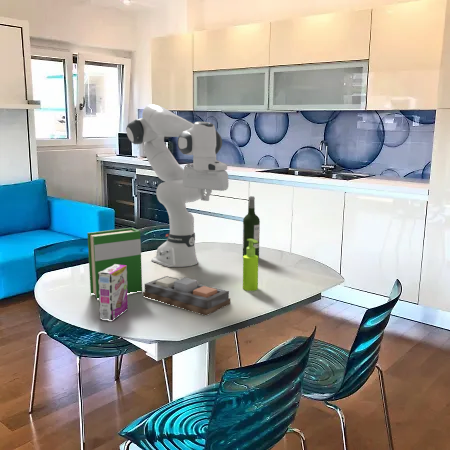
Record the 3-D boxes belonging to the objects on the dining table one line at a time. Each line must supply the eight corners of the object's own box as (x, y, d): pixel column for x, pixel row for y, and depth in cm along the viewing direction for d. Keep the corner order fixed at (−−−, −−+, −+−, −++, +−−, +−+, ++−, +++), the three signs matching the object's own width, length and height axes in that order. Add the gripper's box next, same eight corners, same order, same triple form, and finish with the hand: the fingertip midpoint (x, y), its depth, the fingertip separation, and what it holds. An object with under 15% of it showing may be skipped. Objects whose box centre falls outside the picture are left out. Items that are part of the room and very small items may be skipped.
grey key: (174, 290, 177) (173, 281, 176) (184, 286, 181) (184, 277, 181) (186, 294, 173) (186, 284, 172) (197, 289, 178) (197, 280, 177)
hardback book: (97, 301, 177) (94, 236, 173) (90, 295, 184) (87, 232, 179) (142, 292, 187) (140, 231, 182) (134, 286, 193) (132, 227, 188)
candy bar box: (112, 322, 158) (110, 273, 155) (99, 320, 160) (96, 272, 156) (129, 310, 169) (127, 264, 165) (116, 308, 170) (114, 263, 167)
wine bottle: (259, 260, 231) (260, 197, 225) (242, 260, 232) (243, 197, 226) (258, 256, 239) (259, 195, 233) (242, 256, 239) (243, 195, 233)
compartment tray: (142, 297, 181) (142, 284, 180) (168, 287, 192) (168, 275, 191) (206, 315, 164) (206, 301, 163) (230, 303, 175) (230, 290, 174)
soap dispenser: (248, 292, 187) (249, 241, 183) (240, 287, 193) (240, 238, 189) (262, 290, 189) (262, 240, 185) (252, 285, 195) (253, 236, 191)
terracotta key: (193, 299, 172) (193, 290, 171) (203, 295, 176) (203, 286, 176) (206, 303, 168) (206, 293, 168) (217, 298, 173) (217, 289, 172)
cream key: (156, 289, 182) (155, 280, 181) (167, 285, 187) (166, 276, 186) (168, 293, 179) (167, 283, 178) (178, 288, 183) (178, 279, 183)
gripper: (178, 164, 190) (179, 199, 193) (220, 166, 179) (220, 203, 181) (189, 163, 195) (189, 197, 198) (230, 165, 184) (230, 201, 186)
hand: (204, 200), depth 190 cm, fingers closed
